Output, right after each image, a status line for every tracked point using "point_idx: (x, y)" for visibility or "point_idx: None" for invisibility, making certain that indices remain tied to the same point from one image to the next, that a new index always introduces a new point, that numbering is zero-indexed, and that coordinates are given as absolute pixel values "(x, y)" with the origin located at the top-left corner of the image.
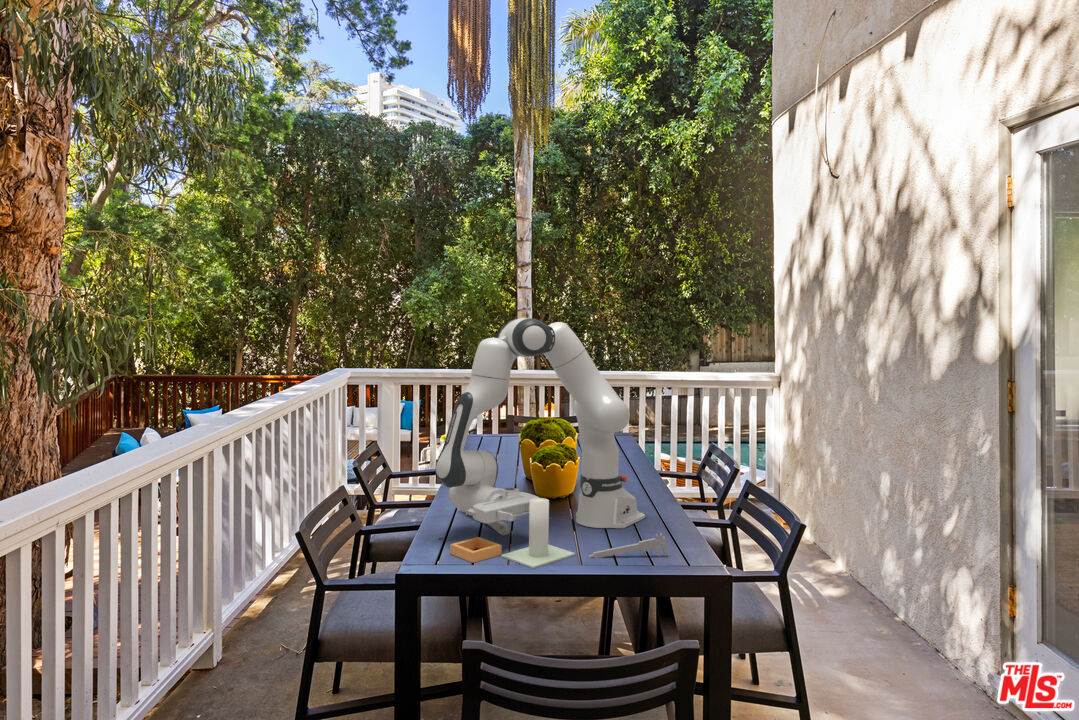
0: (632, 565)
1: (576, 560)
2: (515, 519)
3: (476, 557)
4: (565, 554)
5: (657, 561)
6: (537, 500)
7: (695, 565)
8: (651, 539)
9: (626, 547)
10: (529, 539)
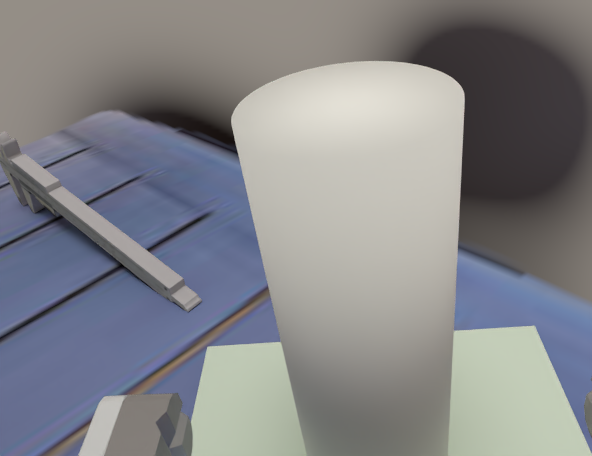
0: (177, 196)
1: (269, 307)
2: (585, 411)
3: None
4: (258, 361)
5: (96, 187)
6: (363, 105)
7: (78, 144)
8: (27, 162)
9: (92, 211)
10: (448, 413)
